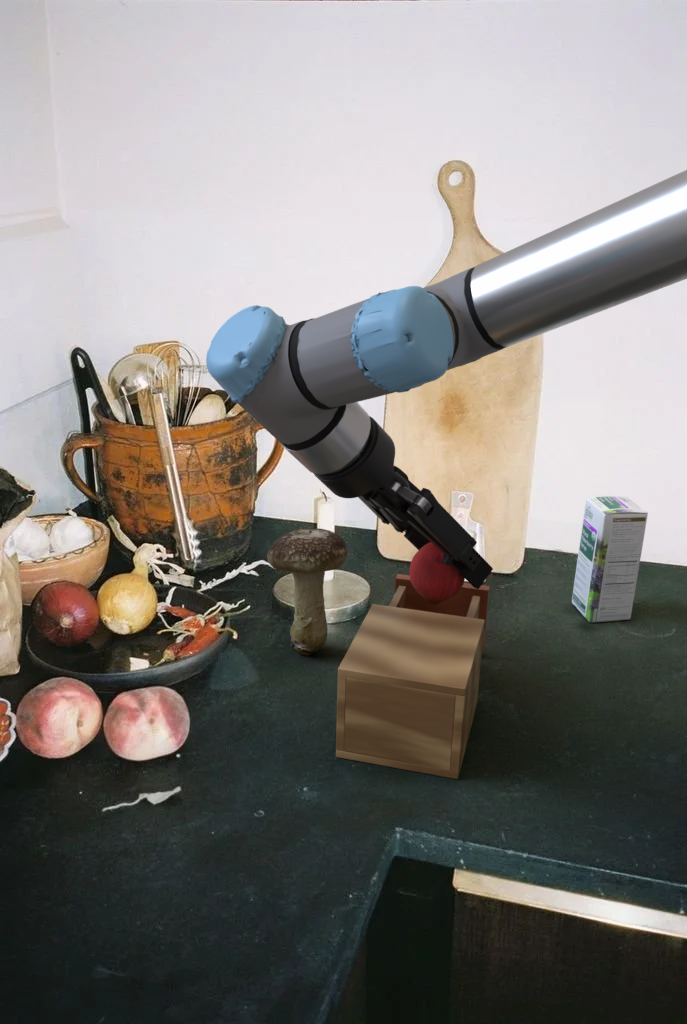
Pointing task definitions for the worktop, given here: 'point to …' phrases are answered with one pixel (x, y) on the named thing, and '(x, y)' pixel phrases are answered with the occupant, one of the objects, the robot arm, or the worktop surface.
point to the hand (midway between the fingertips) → (462, 567)
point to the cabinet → (409, 690)
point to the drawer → (461, 604)
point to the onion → (434, 575)
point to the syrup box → (608, 558)
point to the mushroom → (308, 580)
